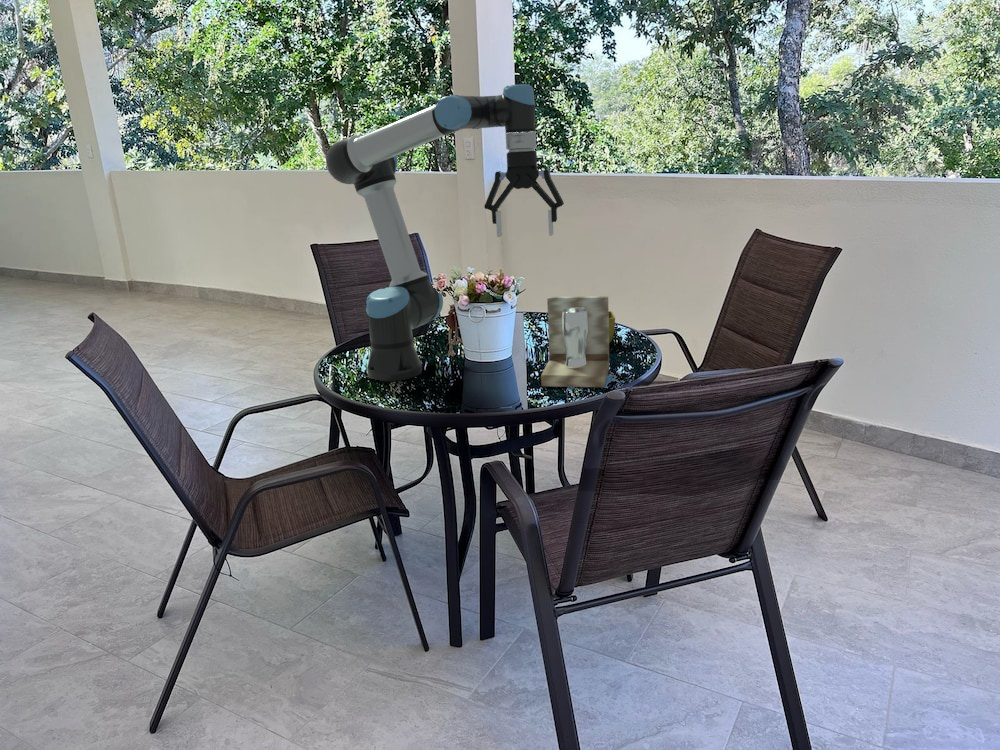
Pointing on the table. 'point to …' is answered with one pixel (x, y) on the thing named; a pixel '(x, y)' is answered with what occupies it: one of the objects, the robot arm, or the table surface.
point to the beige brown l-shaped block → (595, 347)
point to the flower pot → (611, 325)
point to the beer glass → (575, 336)
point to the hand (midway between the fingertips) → (525, 235)
